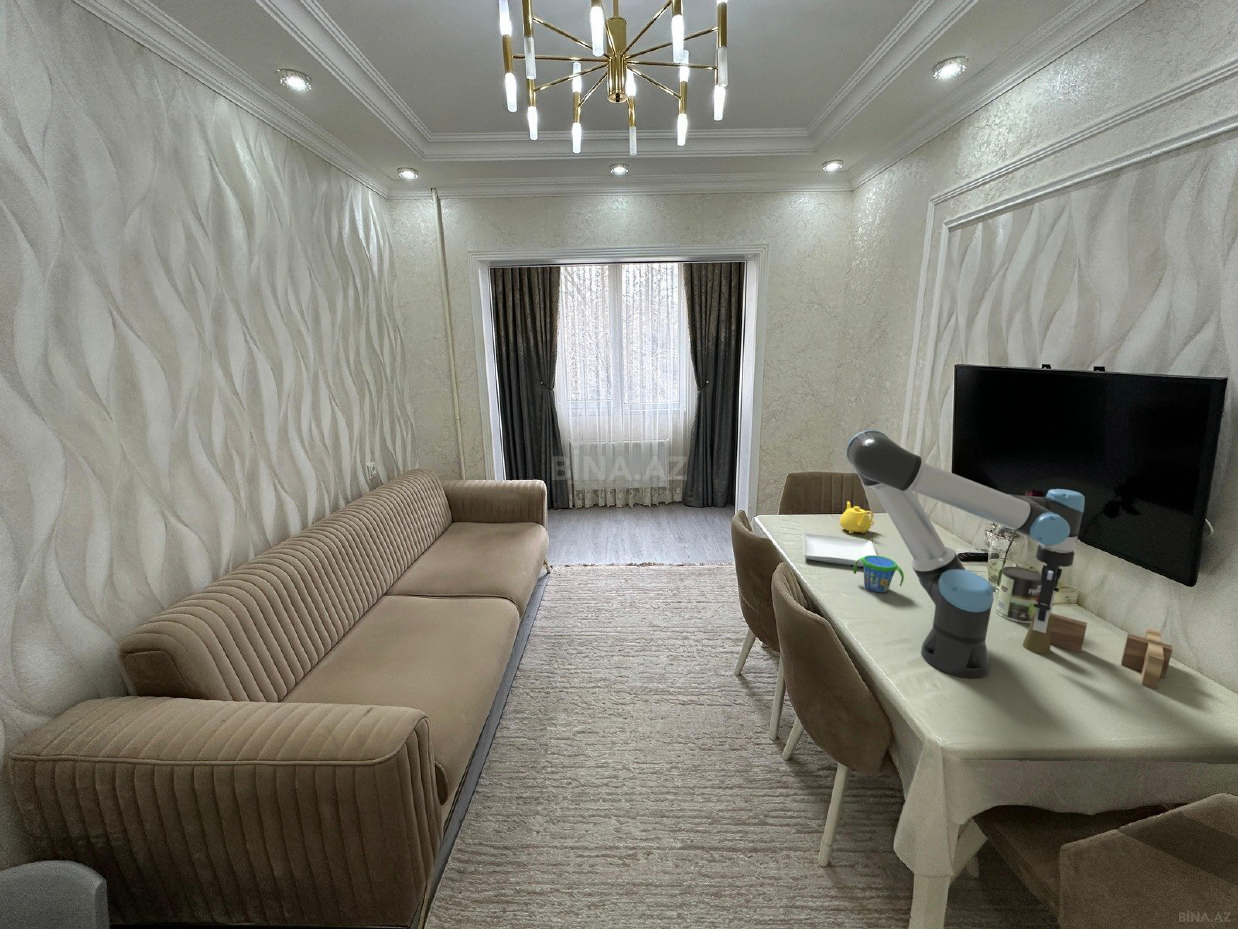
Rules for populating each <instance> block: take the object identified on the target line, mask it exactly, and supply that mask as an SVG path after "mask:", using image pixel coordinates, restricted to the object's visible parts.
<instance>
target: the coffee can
mask: <svg viewBox="0 0 1238 929" xmlns="http://www.w3.org/2000/svg"><path fill="white" fill-rule="evenodd" d="M1001 571H1002V572H1001V578H1000V582H999V589H998V593H997V594H998V596H997V602H996V606H995V609H996V611H995V613H996V614H997V613H998V614H997V615H998V616H1000V617H1002V616H1003V617H1002V618H1003V619H1005V620H1006V619H1007V620H1010V621H1011V622H1015V623H1021V624H1031V622H1032V620H1031V619H1030V615H1031V612H1032V611H1033V610H1036V607H1034V604H1038V600H1039V595H1040V590H1041V586H1042V584H1041V577H1042V574H1041V573H1040V572H1038V571H1035V570H1033V569H1029V568H1024V567H1019V566H1004V567H1003V568H1002V569H1001Z"/></svg>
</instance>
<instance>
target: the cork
mask: <svg viewBox="0 0 1238 929" xmlns="http://www.w3.org/2000/svg"><path fill="white" fill-rule="evenodd" d="M1035 613H1036V610H1033V611H1032V612H1031V615H1030V619H1031V620H1032V622H1031V623H1029V624H1030V625H1029V626H1028V629H1027V632H1026V635H1025V637H1024V639H1023V643H1022V646H1023V648H1024V649H1026V650H1027V651H1029V652H1032V653H1034V654H1037V655H1043V656H1045V655H1046V656H1047V655H1051V644H1050V643H1051V626H1052V625H1053V624H1054V622H1055V617H1054V616H1053V614H1054V613H1053V614H1051V613H1052V612H1051V613H1049V618H1048V624H1047V629H1046V633H1043V632H1040V631H1036V630H1033V624H1034V619H1035Z"/></svg>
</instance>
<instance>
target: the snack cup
mask: <svg viewBox="0 0 1238 929" xmlns="http://www.w3.org/2000/svg"><path fill="white" fill-rule="evenodd" d="M858 561H862V562H863V585H864V586H865V588H866V589H867V590H868V591H872V592H877V593H879V594H880V593H881V594H882V593H886V592H888V591H889V589H890V585H891V582H892V579H893V576H894V575H895V573H896V571H898V573H899V575H900V577H901V579H900V584H899V587H902V585H903V583H904V580H905V574H904V572H903V570H902V568H901V567H899V565H898V564H897V562H896V561H895V560H893V559H891V558H889V557H886V556H880V555H877V556H875V555H869V556H865V557H863V558H860V559H858V560H857V561H856V562H855V564H854V566H853V567H852V568H853V570H852V571H853V574H854V575H856V574H857V571H858V570H857V569H858V566H857V563H858Z"/></svg>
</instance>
